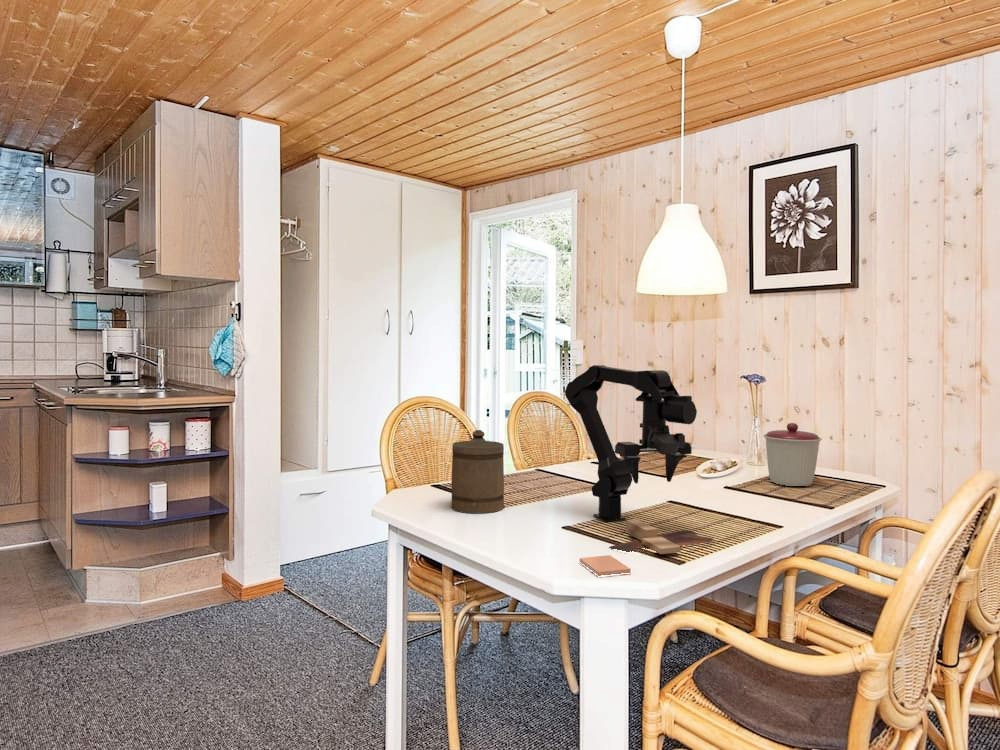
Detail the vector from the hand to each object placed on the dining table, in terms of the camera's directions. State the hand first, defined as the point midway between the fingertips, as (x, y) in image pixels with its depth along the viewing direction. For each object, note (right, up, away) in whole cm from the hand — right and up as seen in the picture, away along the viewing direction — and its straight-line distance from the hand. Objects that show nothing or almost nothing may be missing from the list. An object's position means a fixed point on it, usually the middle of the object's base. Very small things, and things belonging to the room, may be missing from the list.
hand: (652, 482), depth 162 cm
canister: (+61, -11, +58) cm, 85 cm away
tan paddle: (-4, -12, -13) cm, 18 cm away
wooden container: (-45, -11, +21) cm, 51 cm away
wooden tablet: (-1, -13, -12) cm, 18 cm away
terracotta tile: (-18, -12, -25) cm, 33 cm away
